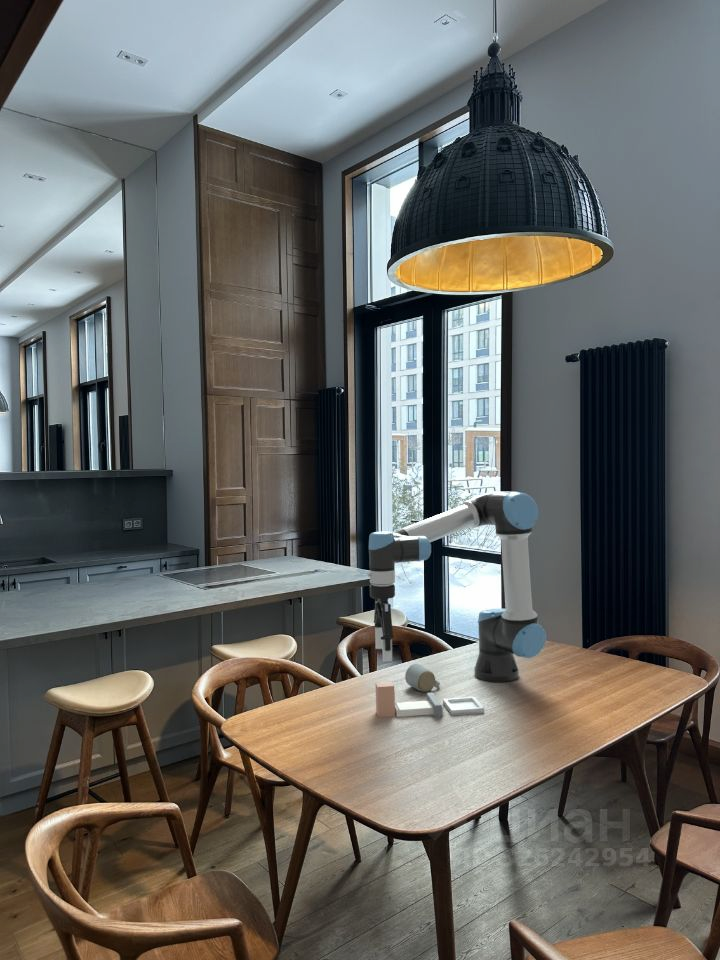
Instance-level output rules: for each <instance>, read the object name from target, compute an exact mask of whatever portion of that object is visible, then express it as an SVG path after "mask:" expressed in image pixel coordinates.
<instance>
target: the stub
mask: <svg viewBox="0 0 720 960" xmlns="http://www.w3.org/2000/svg"><path fill="white" fill-rule="evenodd" d="M395 693H396V691H395V685H394V683H393V681H383V682H375V705H376V706H375V712H376V715H377V717H378V718H384V717H385V718H386V717H395V716H396V713H395V703H396V702H395V701H396V694H395Z"/></svg>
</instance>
